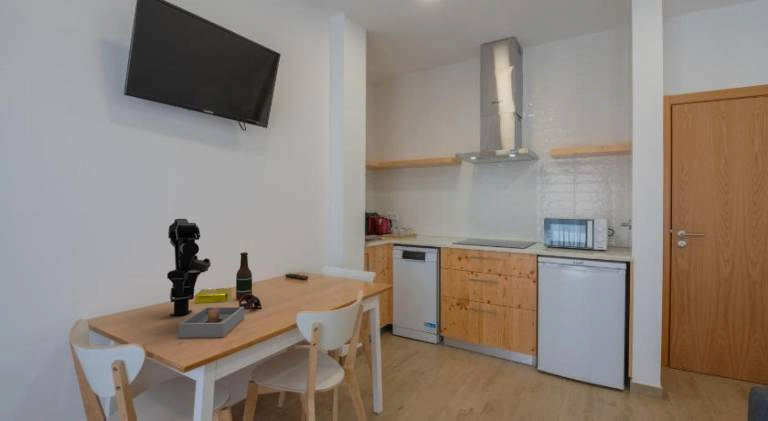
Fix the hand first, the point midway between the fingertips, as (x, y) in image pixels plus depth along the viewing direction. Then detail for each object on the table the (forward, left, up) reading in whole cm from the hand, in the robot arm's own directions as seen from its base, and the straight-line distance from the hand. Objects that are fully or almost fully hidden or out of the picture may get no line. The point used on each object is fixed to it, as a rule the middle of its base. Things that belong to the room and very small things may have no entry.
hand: (186, 292), depth 144 cm
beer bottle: (-39, +10, -13) cm, 42 cm away
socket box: (+5, +13, -13) cm, 19 cm away
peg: (+5, +13, -13) cm, 19 cm away
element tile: (-40, -6, -14) cm, 42 cm away
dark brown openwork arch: (-20, +19, -13) cm, 31 cm away
